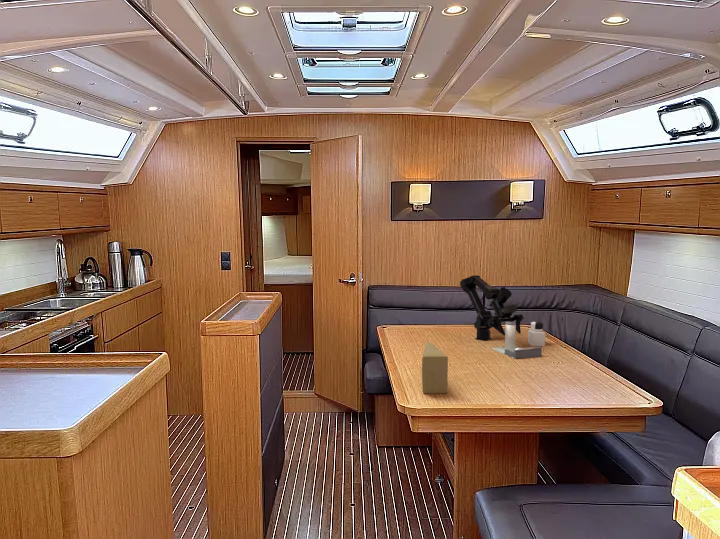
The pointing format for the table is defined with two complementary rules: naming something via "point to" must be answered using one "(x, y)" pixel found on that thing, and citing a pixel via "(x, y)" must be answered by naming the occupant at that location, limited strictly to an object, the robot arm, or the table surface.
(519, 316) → the robot arm
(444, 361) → the cheese
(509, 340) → the grey capped tube
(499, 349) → the sage mat
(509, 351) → the dispenser rack
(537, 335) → the medicine bottle
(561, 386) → the table surface
